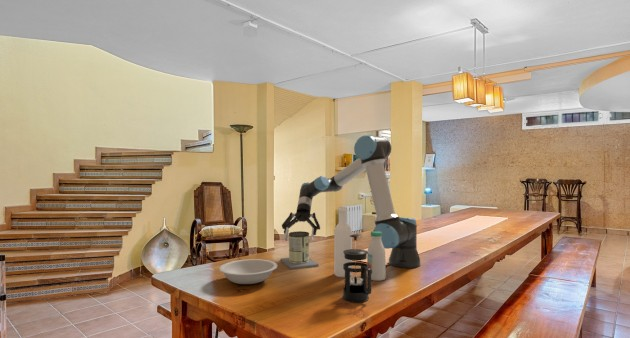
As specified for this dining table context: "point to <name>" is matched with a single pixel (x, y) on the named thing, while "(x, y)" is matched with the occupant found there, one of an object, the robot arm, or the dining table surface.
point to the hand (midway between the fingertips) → (298, 239)
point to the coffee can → (298, 247)
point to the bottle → (341, 243)
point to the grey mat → (297, 266)
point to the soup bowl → (248, 270)
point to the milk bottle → (376, 257)
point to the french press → (352, 284)
